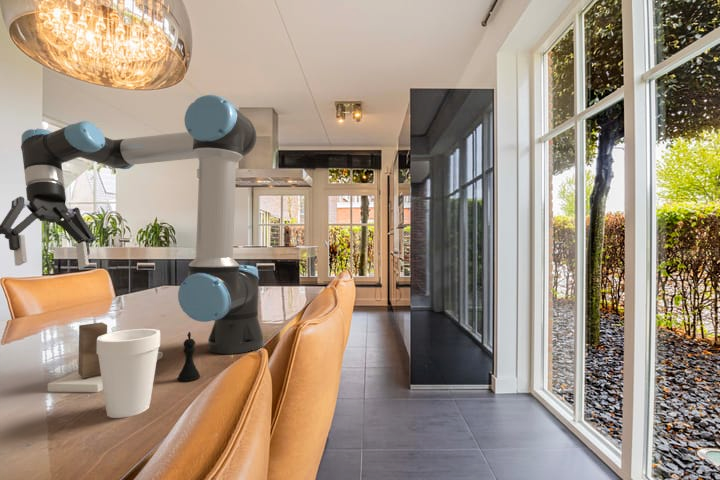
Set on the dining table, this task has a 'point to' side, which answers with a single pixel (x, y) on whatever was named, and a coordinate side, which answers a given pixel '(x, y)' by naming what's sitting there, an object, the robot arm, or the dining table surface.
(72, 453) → the dining table surface
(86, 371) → the stub
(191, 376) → the chess piece
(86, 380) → the white perforated board
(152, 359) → the foam cup
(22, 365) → the dining table surface
